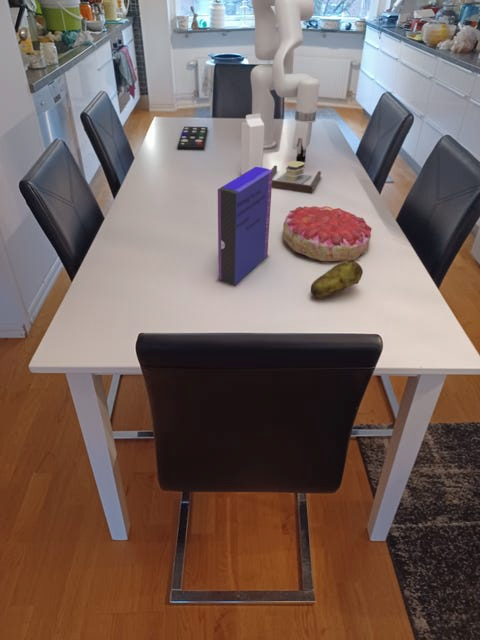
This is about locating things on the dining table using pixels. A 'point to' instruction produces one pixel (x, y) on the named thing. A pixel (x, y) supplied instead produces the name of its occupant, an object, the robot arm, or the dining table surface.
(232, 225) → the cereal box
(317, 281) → the green pickle
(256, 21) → the robot arm
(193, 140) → the remote control
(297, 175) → the stacked layers on plate
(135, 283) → the dining table surface
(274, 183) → the sponge rest
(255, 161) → the milk
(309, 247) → the cake
